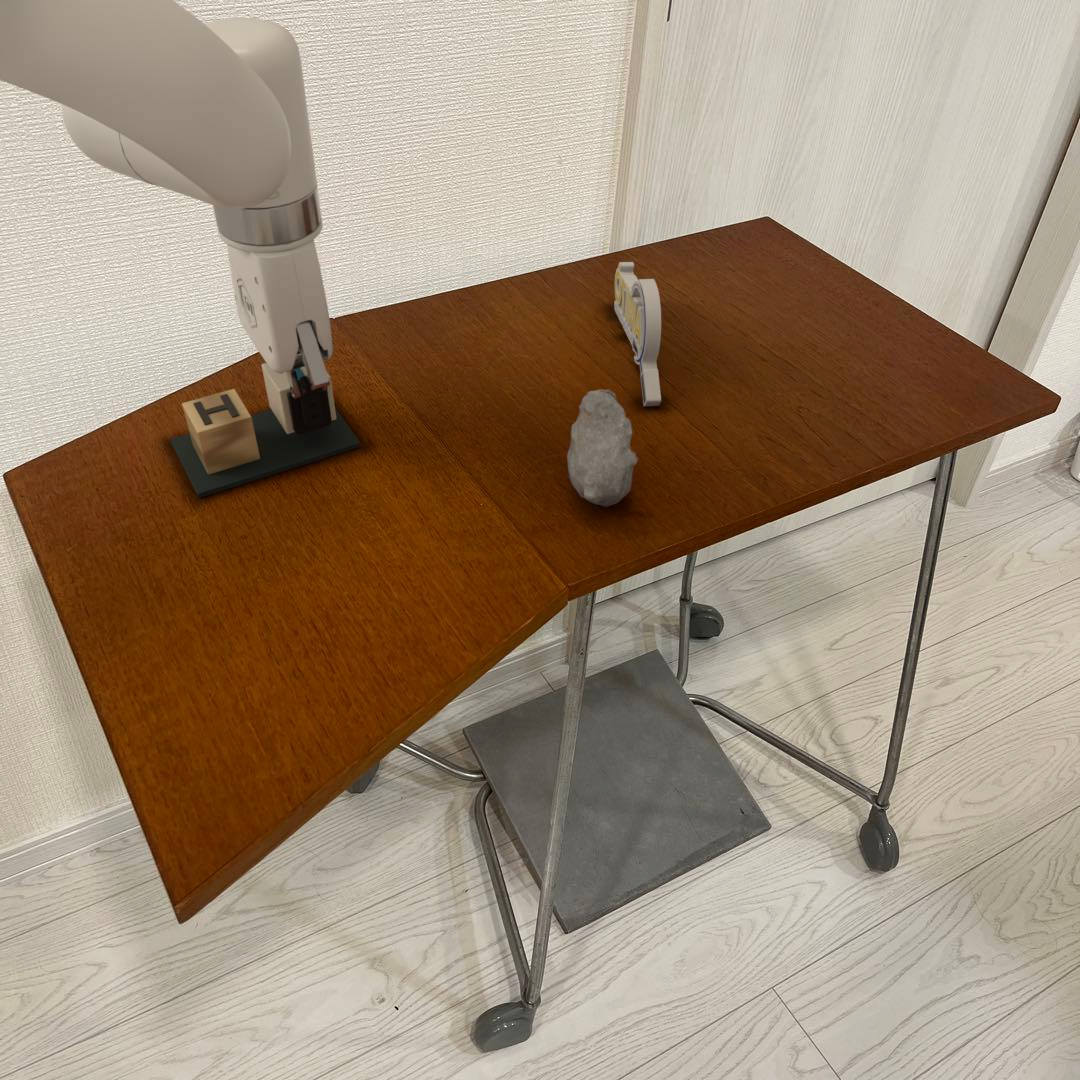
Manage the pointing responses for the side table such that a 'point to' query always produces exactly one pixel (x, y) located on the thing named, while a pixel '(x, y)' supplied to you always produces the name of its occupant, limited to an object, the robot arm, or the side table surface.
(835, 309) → the side table surface
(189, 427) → the letter h
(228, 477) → the word mat
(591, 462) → the stone
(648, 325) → the decorative sign
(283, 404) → the letter i
